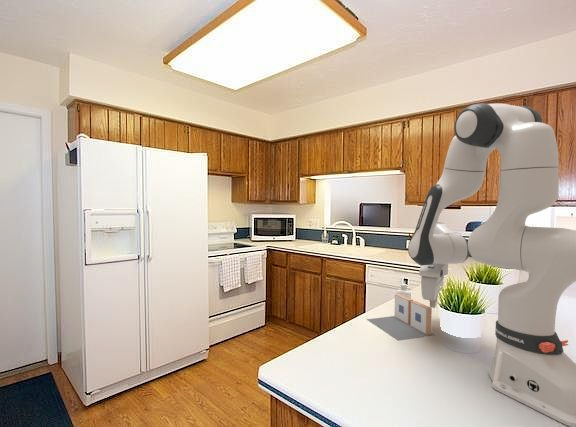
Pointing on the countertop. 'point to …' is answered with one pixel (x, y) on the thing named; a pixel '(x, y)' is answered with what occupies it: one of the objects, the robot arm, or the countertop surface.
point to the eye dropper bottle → (404, 290)
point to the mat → (397, 328)
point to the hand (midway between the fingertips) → (433, 306)
